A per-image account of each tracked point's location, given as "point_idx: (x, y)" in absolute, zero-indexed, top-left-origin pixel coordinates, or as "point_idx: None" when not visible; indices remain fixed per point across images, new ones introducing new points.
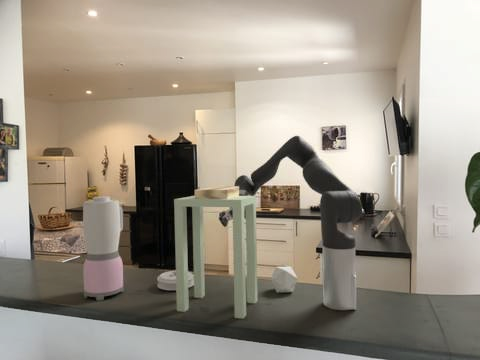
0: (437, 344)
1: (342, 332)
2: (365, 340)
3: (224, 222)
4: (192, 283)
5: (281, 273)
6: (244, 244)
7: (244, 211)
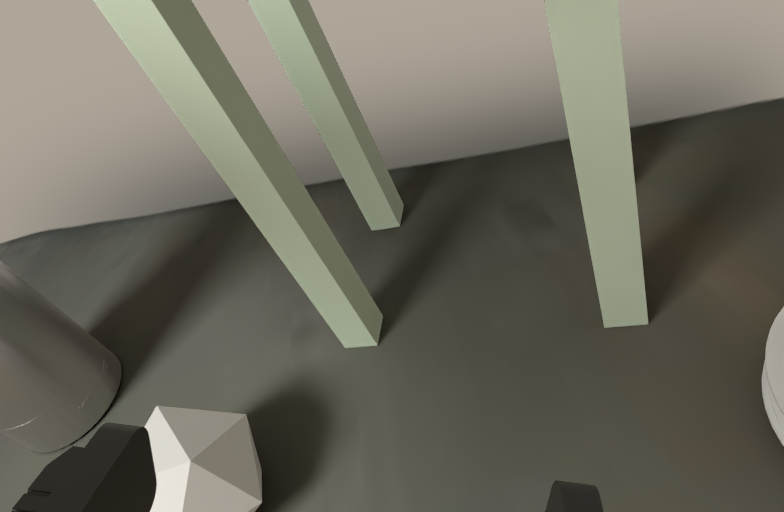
0: (7, 260)
1: (147, 239)
2: (119, 226)
3: (553, 507)
4: (780, 417)
5: (184, 408)
6: (256, 10)
7: (63, 495)
